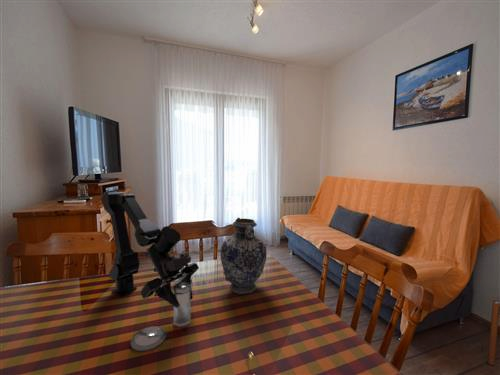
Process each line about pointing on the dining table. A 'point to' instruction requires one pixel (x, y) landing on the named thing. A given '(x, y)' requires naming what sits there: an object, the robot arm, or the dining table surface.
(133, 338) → the silver flat disc
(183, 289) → the grey piece
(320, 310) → the dining table surface
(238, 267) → the decorative vase
